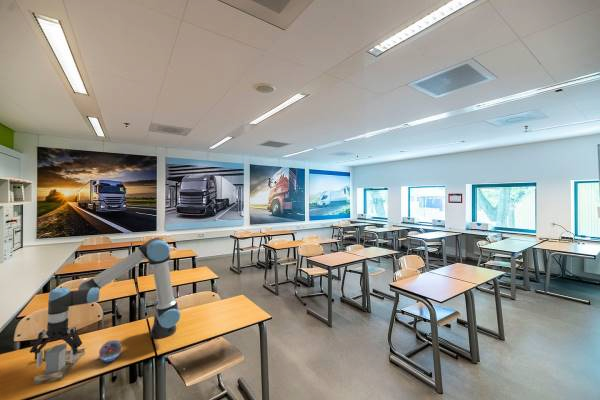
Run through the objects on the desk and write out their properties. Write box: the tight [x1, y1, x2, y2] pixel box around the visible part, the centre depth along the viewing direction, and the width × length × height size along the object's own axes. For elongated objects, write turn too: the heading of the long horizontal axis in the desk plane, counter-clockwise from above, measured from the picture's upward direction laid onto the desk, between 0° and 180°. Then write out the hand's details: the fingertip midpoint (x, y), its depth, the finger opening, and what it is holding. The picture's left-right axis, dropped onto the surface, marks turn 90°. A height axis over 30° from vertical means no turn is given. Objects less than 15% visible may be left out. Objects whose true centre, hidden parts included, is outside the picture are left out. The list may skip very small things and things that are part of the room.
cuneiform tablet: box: [43, 342, 72, 362], centre depth 136 cm, size 7×4×12 cm
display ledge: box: [33, 347, 86, 385], centre depth 127 cm, size 10×22×3 cm, turn 18°
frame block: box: [45, 344, 68, 375], centre depth 122 cm, size 5×7×11 cm
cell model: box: [98, 339, 123, 363], centre depth 134 cm, size 10×12×10 cm
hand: (56, 363), depth 122 cm, fingers open, 12 cm apart
